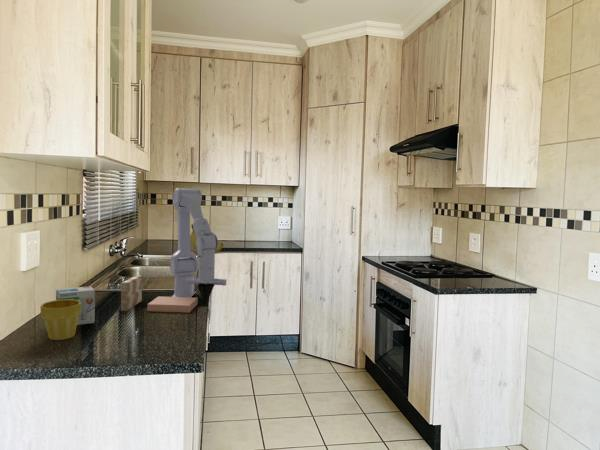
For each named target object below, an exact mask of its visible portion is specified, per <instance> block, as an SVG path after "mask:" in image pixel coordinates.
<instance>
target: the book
mask: <svg viewBox="0 0 600 450" xmlns="http://www.w3.org/2000/svg"><path fill="white" fill-rule="evenodd" d="M198 301H199V300H198V297H171V296H160V295H158V296H157V297H155V298H154V299H152V300H151V301H150V302H149V303H147V306H146V307H147V308H146V309H147V312H161V313H165V312H166V313H191V312H192V310H193V309H194V308H196V307H197V305H198Z"/></svg>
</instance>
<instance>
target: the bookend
mask: <svg viewBox="0 0 600 450" xmlns="http://www.w3.org/2000/svg"><path fill="white" fill-rule="evenodd" d="M120 283H121V284H120V312H127V311H129V310H131V309H133V307H135V306H136V305H138V304H140V303H141V302H143V299H142V298H143V297H142V296H143V276H142V275H140V274H139V275H138V274H137V275H133V277H130V278H128V279H126V280H124V281H122V282H120Z"/></svg>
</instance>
